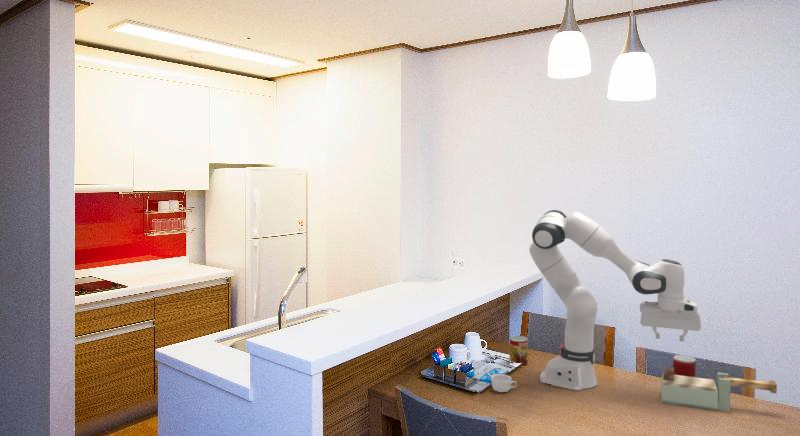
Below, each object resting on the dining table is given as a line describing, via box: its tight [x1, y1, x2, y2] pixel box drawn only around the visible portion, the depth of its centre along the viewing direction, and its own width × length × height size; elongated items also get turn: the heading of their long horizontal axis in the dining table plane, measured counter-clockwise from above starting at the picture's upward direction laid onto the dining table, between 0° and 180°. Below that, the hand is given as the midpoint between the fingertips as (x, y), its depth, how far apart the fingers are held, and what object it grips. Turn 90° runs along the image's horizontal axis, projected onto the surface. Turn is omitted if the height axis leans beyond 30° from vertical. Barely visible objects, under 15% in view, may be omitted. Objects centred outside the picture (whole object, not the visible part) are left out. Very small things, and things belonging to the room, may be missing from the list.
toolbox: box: [660, 372, 732, 413], centre depth 201 cm, size 22×9×12 cm, turn 66°
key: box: [724, 376, 778, 395], centre depth 193 cm, size 16×4×3 cm, turn 66°
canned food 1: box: [509, 335, 529, 367], centre depth 243 cm, size 8×8×12 cm
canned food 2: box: [672, 354, 697, 377], centre depth 218 cm, size 8×8×11 cm
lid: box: [662, 366, 717, 392], centre depth 201 cm, size 17×9×5 cm, turn 65°
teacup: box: [490, 373, 518, 393], centre depth 215 cm, size 10×8×5 cm
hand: (669, 339), depth 203 cm, fingers open, 7 cm apart
